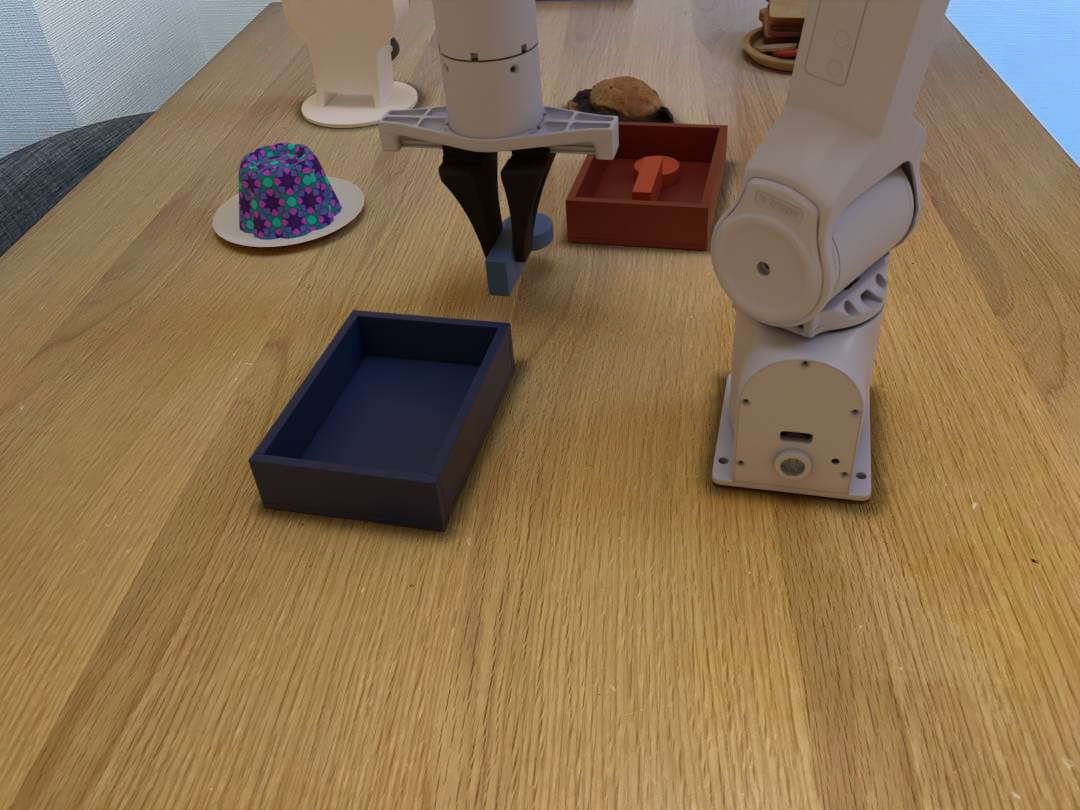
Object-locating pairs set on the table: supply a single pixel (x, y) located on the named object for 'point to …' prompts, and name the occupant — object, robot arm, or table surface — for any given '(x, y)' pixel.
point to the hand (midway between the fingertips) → (509, 253)
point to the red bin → (682, 209)
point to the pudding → (285, 199)
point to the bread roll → (622, 101)
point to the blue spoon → (502, 259)
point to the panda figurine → (351, 59)
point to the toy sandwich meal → (777, 34)
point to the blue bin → (387, 420)
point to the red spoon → (654, 176)
